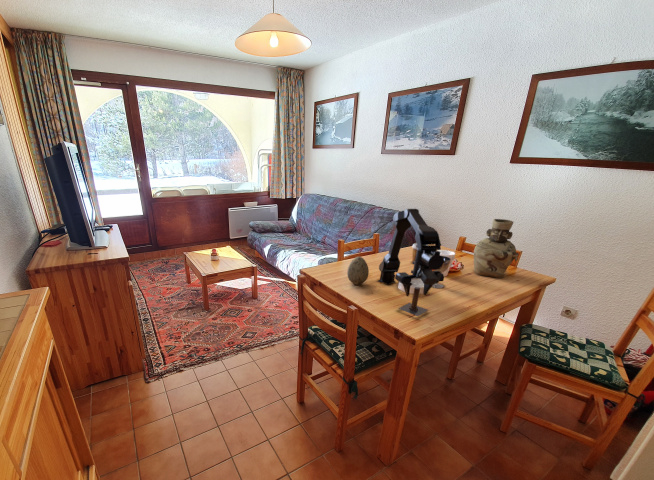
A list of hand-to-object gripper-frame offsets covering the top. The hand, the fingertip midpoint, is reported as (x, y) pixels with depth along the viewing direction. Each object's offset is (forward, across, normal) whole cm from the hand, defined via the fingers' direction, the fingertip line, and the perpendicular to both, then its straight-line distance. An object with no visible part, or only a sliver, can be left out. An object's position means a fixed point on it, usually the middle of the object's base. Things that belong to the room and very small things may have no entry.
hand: (415, 295), depth 131 cm
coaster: (+8, 0, 0) cm, 8 cm away
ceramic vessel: (+8, +69, +38) cm, 79 cm away
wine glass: (+8, +28, +25) cm, 39 cm away
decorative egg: (+8, -12, +33) cm, 36 cm away
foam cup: (+8, +41, +40) cm, 57 cm away
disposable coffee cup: (+8, +38, +59) cm, 70 cm away
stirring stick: (+6, 0, 0) cm, 6 cm away
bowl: (+8, +11, +20) cm, 25 cm away
